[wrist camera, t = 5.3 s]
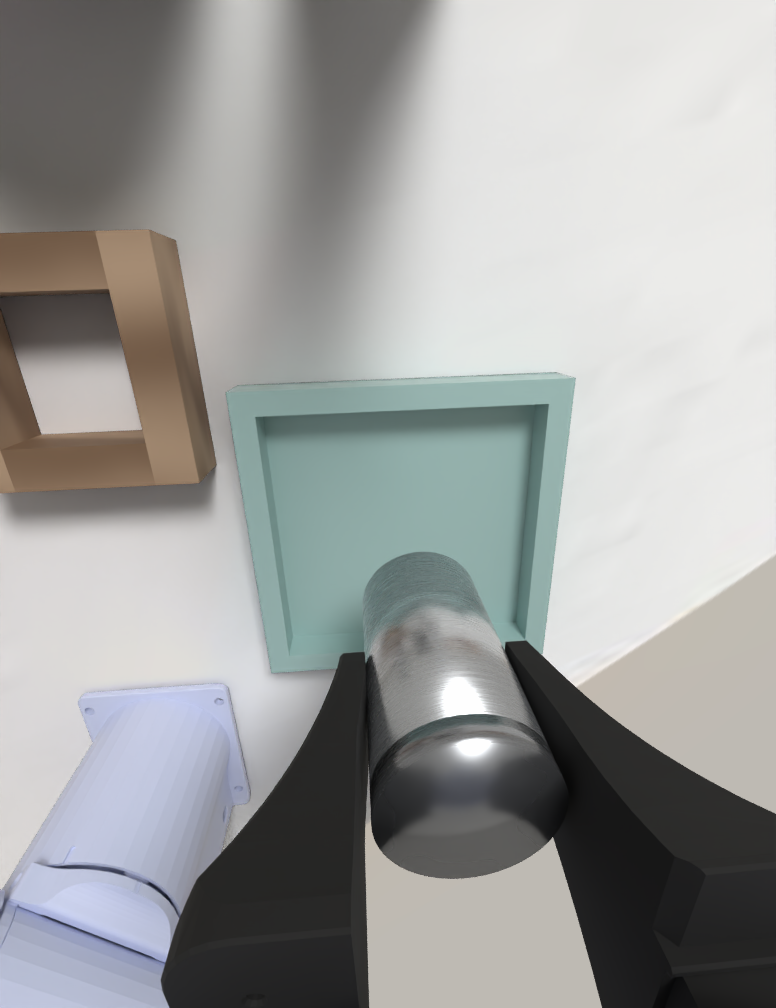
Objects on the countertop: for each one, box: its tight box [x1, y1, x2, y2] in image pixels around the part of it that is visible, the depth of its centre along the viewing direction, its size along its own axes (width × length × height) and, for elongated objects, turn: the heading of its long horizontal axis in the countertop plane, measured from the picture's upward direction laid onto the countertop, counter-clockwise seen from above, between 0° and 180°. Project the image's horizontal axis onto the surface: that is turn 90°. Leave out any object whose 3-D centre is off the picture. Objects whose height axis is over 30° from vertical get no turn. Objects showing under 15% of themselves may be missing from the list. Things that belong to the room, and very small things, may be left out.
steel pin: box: [362, 552, 569, 879], centre depth 13 cm, size 4×4×8 cm
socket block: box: [0, 230, 216, 493], centre depth 18 cm, size 9×9×2 cm
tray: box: [226, 372, 576, 673], centre depth 22 cm, size 14×14×2 cm
